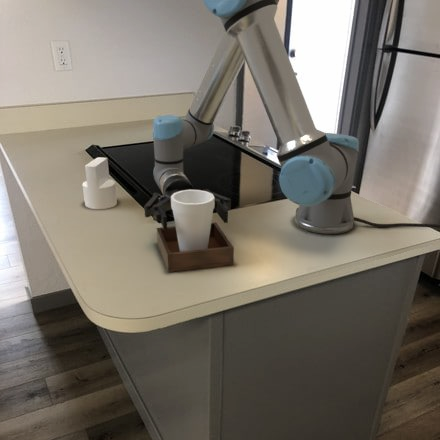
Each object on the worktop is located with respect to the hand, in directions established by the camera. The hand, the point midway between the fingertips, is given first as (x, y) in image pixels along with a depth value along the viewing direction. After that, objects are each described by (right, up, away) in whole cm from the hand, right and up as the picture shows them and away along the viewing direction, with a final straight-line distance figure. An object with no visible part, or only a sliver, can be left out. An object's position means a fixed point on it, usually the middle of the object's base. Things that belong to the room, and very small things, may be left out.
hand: (196, 220), depth 106 cm
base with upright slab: (-29, +10, +34) cm, 46 cm away
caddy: (-1, -7, +7) cm, 10 cm away
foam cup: (-1, -6, +6) cm, 9 cm away
